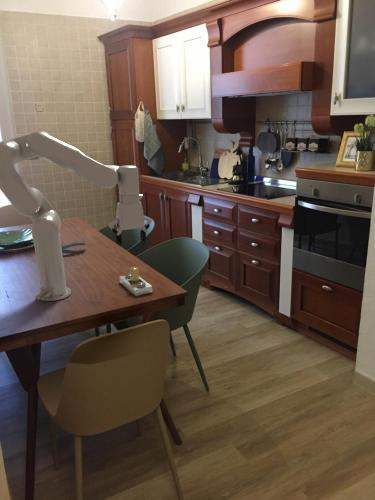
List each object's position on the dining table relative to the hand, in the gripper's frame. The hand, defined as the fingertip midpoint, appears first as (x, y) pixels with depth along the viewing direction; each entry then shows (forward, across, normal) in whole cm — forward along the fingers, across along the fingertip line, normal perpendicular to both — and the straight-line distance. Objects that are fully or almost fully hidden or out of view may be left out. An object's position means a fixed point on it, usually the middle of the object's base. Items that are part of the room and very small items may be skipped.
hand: (131, 242), depth 169 cm
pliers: (+20, +12, -61) cm, 65 cm away
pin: (+18, -1, 0) cm, 19 cm away
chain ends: (+18, -1, 0) cm, 18 cm away
